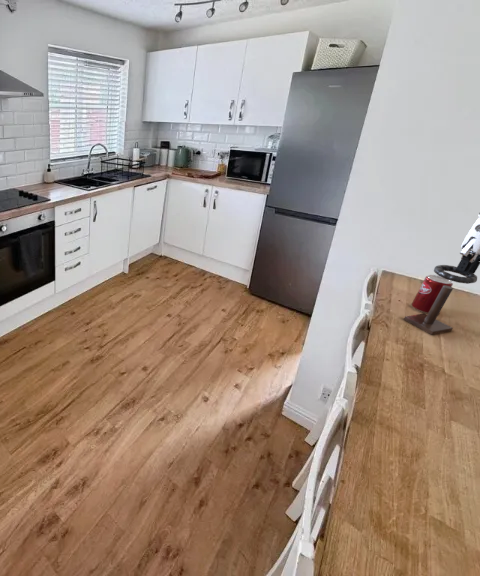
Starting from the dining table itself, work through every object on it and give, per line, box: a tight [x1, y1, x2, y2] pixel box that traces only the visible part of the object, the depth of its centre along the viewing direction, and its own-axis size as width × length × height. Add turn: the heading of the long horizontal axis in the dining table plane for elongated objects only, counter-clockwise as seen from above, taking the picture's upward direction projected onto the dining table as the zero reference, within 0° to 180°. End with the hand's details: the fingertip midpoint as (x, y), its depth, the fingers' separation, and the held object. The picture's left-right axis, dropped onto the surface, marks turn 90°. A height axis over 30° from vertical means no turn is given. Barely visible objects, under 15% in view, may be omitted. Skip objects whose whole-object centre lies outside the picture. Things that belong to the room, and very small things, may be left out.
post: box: [403, 285, 454, 336], centre depth 118 cm, size 9×9×14 cm
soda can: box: [411, 274, 454, 315], centre depth 128 cm, size 7×7×12 cm
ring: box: [433, 264, 478, 285], centre depth 112 cm, size 10×10×2 cm
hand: (464, 271), depth 113 cm, fingers closed on ring, 2 cm apart
